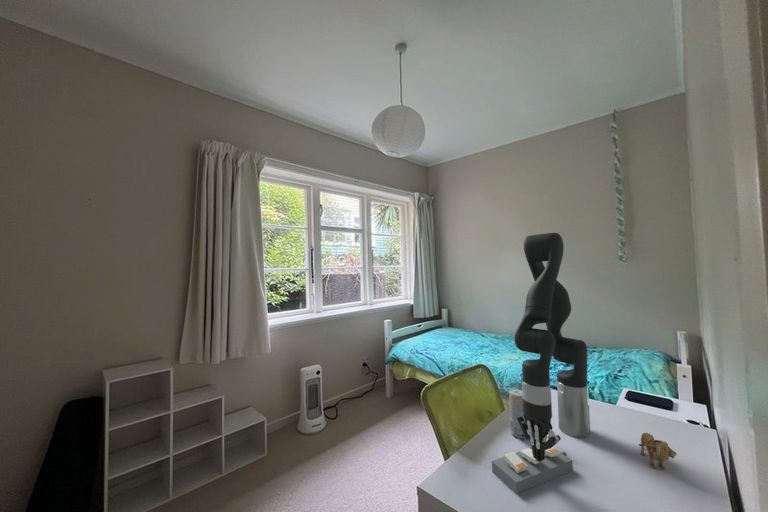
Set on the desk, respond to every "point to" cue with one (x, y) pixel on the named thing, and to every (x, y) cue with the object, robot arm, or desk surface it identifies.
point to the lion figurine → (656, 450)
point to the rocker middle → (529, 455)
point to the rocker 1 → (515, 462)
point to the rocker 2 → (552, 452)
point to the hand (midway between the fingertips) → (538, 459)
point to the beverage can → (516, 412)
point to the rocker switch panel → (532, 471)
